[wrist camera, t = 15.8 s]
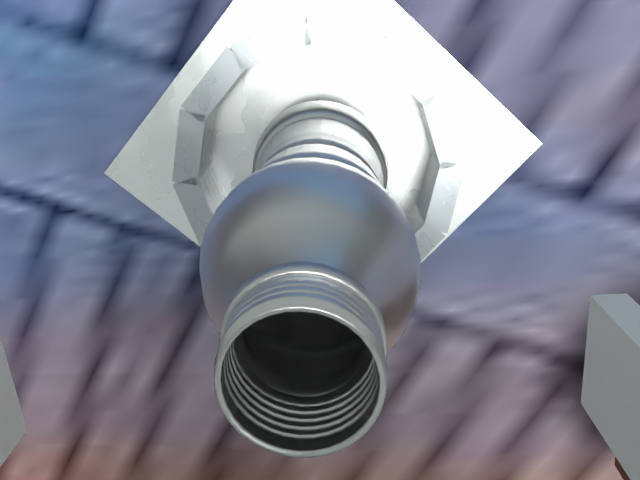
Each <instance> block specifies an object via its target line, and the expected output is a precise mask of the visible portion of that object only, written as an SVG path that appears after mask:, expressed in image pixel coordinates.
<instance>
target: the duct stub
mask: <svg viewBox="0 0 640 480" xmlns="http://www.w3.org/2000/svg"><path fill="white" fill-rule="evenodd" d="M316 100H325V101H331V102H337V103H340V104H343V105H345V106H348V107H350V108H352V109H353V110H355V111H357V112H358V113H360V114H361V115H363V116H364V117H365V118H366V119H367V120H368V121H369V122H370V123H371V124H372V125H373V127H374V128H375V130H376V131H377V133H378V134H379V136H380V137H381V140H382V142H383V144H384V147H385V149H386V154H387V159H388V173H389V176H388V182H387V188H386V190H387V191H388V192H389V193H390V194H391V195H392V197H393V198H394V200H395V201H396V202H397V204H398V205H399V207H400V208H401V209H402V211H403V213H404V214H405V216H406V218H407V219H408V221H409V224H410V226H411V228H412V231H413V233H414V235H415V237H416V240H417V244H418V249H419V254H420V259H421V263H422V262H423V261H424V260H425V259H426V258H427V257H428V256H429V255H430V254H431V253H432V252H433V251H434V250H435V249H436V248H437V247H438V246H439V245H440V244H441V243H442V242H443V241H444V240H445V239H446V238H447V237H448V236H449V235H450V234H451V233H452V232H453V231H454V230H455V229H456V228H457V227H458V226H459V225H460V224H461V223H462V222H463V221H464V220H465V219H466V218H467V217H469V216H470V215H471V214H472V213H473V212H474V211H475V210H476V209H477V208H478V207H479V206H480V205H481V204H482V203H483V202H484V201H485V200H486V199H487V198H488V197H489V196H490V195H491V194H492V193H493V192H494V191H495V190H496V189H497V188H498V187H499V186H500V185H501V184H502V183H503V182H504V181H505V180H506V179H507V178H508V177H509V176H510V175H511V174H512V173H513V172H514V171H515V170H516V169H517V168H518V167H519V166H520V165H521V164H522V163H523V162H524V161H525V160H526V159H527V158H528V157H529V156H530V155H531V154H532V153H534V152H535V151H536V150H537V149H538V148H539V147H540V146H541V145H542V143H541V142H540V141H539V140H538V139H537V138H536V137H535V136H534V135H533V134H532V133H531V132H530V131H529V130H528V129H527V128H526V127H525V126H524V125H523V124H521V123H520V122H519V121H518V120H517V119H516V118H515V117H514V116H513V115H512V114H511V113H510V112H509V111H508V110H507V109H506V108H505V107H504V106H503V105H502V104H501V103H500V102H499V101H498V100H497V99H496V98H494V97H493V96H492V95H491V94H490V93H489V92H488V91H487V90H486V89H485V88H484V87H483V86H482V85H481V84H480V83H479V82H478V81H477V80H476V79H475V78H474V77H473V76H472V75H471V74H470V73H469V72H467V71H466V70H465V69H464V68H463V67H462V66H461V65H460V64H459V63H458V62H457V61H456V60H455V59H454V58H453V57H452V56H451V55H450V54H449V53H448V52H447V51H446V50H445V49H444V48H443V47H441V46H440V45H439V44H438V43H437V42H436V41H435V40H434V39H433V38H432V37H431V36H430V35H429V34H428V33H427V32H426V31H425V30H424V29H423V28H422V27H421V26H420V25H419V24H418V23H417V22H416V21H414V20H413V19H412V18H411V17H410V16H409V15H408V14H407V13H406V12H405V11H404V10H403V9H402V8H401V7H400V6H399V5H398V4H397V3H396V2H395V1H394V0H234V1H233V2H232V3H231V5H230V6H229V7H228V9H227V10H226V11H225V13H224V14H223V15H222V17H221V18H220V19H219V21H218V22H217V23H216V25H215V26H214V27H213V29H212V30H211V31H210V33H209V34H208V35H207V37H206V38H205V39H204V41H203V42H202V43H201V45H200V46H199V47H198V49H197V50H196V51H195V53H194V54H193V55H192V57H191V58H190V59H189V61H188V62H187V63H186V65H185V66H184V67H183V69H182V70H181V71H180V73H179V74H178V75H177V77H176V78H175V79H174V81H173V82H172V83H171V85H170V86H169V87H168V89H167V90H166V91H165V93H164V94H163V95H162V97H161V98H160V99H159V101H158V102H157V103H156V105H155V106H154V107H153V109H152V110H151V111H150V113H149V114H148V115H147V117H146V118H145V119H144V121H143V122H142V123H141V125H140V126H139V127H138V129H137V130H136V131H135V133H134V134H133V135H132V137H131V138H130V139H129V141H128V142H127V143H126V145H125V146H124V147H123V149H122V150H121V151H120V153H119V154H118V155H117V157H116V158H115V159H114V161H113V162H112V163H111V165H110V166H109V167H108V169H107V170H106V171H105V174H106V175H107V176H109V177H110V178H111V179H113V180H114V181H115V182H116V183H118V184H119V185H120V186H122V187H123V188H124V189H126V190H127V191H128V192H130V193H131V194H132V195H133V196H135V197H136V198H137V199H139V200H140V201H141V202H143V203H144V204H145V205H146V206H148V207H149V208H150V209H152V210H153V211H154V212H156V213H157V214H158V215H159V216H161V217H162V218H163V219H165V220H166V221H167V222H169V223H170V224H171V225H173V226H174V227H175V228H176V229H178V230H179V231H180V232H182V233H183V234H184V235H186V236H187V237H188V238H189V239H191V240H192V241H193V242H195V243H196V244H197V245H199V246H200V247H201V245H202V241H203V238H204V234H205V231H206V227H207V225H208V224H209V222H210V220H211V218H212V216H213V214H214V212H215V210H216V209H217V207H218V206H219V205H220V204H221V203H222V201H223V200H224V199H225V198H226V197H227V196H228V194H229V193H230V192H231V191H232V190H233V189H234V188H235V187H236V186H237V185H238V184H239V183H240V182H242V181H243V180H244V179H246V178H247V177H248V176H249V175H251V174H252V170H253V158H254V152H255V149H256V146H257V142H258V140H259V138H260V136H261V135H262V133H263V131H264V129H265V128H266V127H267V126H268V124H269V123H270V122H271V121H272V120H273V119H274V118H275V117H276V116H277V115H279V114H280V113H281V112H282V111H284V110H286V109H288V108H290V107H292V106H294V105H296V104H299V103H303V102H307V101H316Z"/></svg>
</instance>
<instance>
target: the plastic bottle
mask: <svg viewBox="0 0 640 480" xmlns="http://www.w3.org/2000/svg"><path fill="white" fill-rule="evenodd" d="M388 176H389V173H388V159H387V154H386V149H385V147H384V144H383V142H382V140H381V137H380V136H379V134H378V133H377V131H376V130H375V128H374V127H373V125H372V124H371V123H370V122H369V121H368V120H367V119H366V118H365V117H364V116H363V115H361V114H360V113H358V112H357V111H355V110H353V109H352V108H350V107H348V106H345V105H343V104H340V103H337V102H331V101H325V100H316V101H307V102H303V103H299V104H296V105H294V106H292V107H290V108H288V109H286V110H284V111H282V112H281V113H280V114H279V115H277V116H276V117H275V118H274V119H273V120H272V121H271V122H270V123H269V124H268V126H267V127H266V128H265V129H264V131H263V133H262V135H261V136H260V138H259V140H258V142H257V146H256V149H255V152H254V158H253V170H252V174H251V175H249V176H248V177H247V178H246V179H244V180H243V181H242V182H240V183H239V184H238V185H237V186H236V187H235V188H234V189H233V190H232V191H231V192H230V193H229V194H228V196H227V197H226V198H225V199H224V200H223V201H222V203H221V204H220V205H219V206H218V207H217V209H216V210H215V212H214V214H213V216H212V218H211V220H210V222H209V224H208V225H207V227H206V231H205V234H204V238H203V241H202V245H201V250H200V265H199V270H200V277H201V285H202V291H203V298H204V303H205V306H206V309H207V311H208V314H209V317H210V320H211V322H212V323H213V325H214V327H215V329H216V330H217V332H218V334H219V335H220V341H219V349H218V352H217V355H216V358H215V367H214V385H215V392H216V397H217V400H218V402H219V405H220V408H221V410H222V412H223V413H224V415H225V416H226V418H227V420H228V421H229V423H230V424H231V425H232V426H233V427H234V428H235V429H236V430H237V431H238V432H239V434H241V435H242V436H243V437H245V438H246V439H247V440H249V441H250V442H251V443H253V444H255V445H257V446H259V447H261V448H263V449H265V450H267V451H270V452H273V453H276V454H279V455H283V456H290V457H297V458H304V457H318V456H323V455H328V454H332V453H334V452H337V451H340V450H342V449H345V448H346V447H348V446H350V445H351V444H353V443H355V442H356V441H358V440H359V439H360V438H361V437H362V436H363V435H364V434H365V433H367V432H368V431H369V429H370V428H371V427H372V425H373V424H374V423H375V421H376V420H377V418H378V416H379V414H380V412H381V410H382V407H383V405H384V400H385V395H386V389H387V366H386V359H387V353H388V352H389V351H390V350H391V349H392V348H393V347H394V345H395V344H396V342H397V341H398V340H399V338H400V337H401V335H402V334H403V333H404V331H405V329H406V326H407V324H408V322H409V320H410V317H411V315H412V313H413V310H414V307H415V304H416V302H417V297H418V292H419V288H420V283H421V259H420V254H419V249H418V244H417V240H416V237H415V235H414V233H413V231H412V228H411V226H410V224H409V221H408V219H407V218H406V216H405V214H404V213H403V211H402V209H401V208H400V207H399V205H398V204H397V202H396V201H395V200H394V198H393V197H392V195H391V194H390V193H389V192H388V191H387V190H386V188H387V182H388Z"/></svg>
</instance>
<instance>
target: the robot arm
mask: <svg viewBox="0 0 640 480" xmlns="http://www.w3.org/2000/svg"><path fill="white" fill-rule="evenodd" d="M581 404H582V406H583V407H584V409H585V410H586V412H587V414H588V415H589V417H590V418H591V420H592V421H593V423H594V424H595V426H596V427H597V429H598V431H599V432H600V434H601V435H602V437H603V438H604V440H605V441H606V443H607V444H608V446H609V447H610V449H611V451H612V452H613V454H614V455H615V457H616V458H617V460H618V461H619V463H620V464H621V466H622V467H623V469H624V471H625V472H626V474H627V475H628V477H629V478H630V480H640V305H639V304H638V303H637V302H635V301H634V300H633V299H632V298H631V297H630V296H629V295H628V294H627V293H622V294H605V295H590V305H589V316H588V327H587V339H586V350H585V361H584V372H583V383H582V394H581ZM26 432H27V427H26V424H25V420H24V417H23V414H22V410H21V407H20V403H19V400H18V396H17V393H16V389H15V386H14V383H13V379H12V376H11V372H10V369H9V365H8V362H7V358H6V355H5V352H4V348H3V345H2V341H1V338H0V467H1V465H2V464H3V463H4V461H5V460H6V459H7V457H8V456H9V455H10V453H11V452H12V451H13V449H14V448H15V447H16V445H17V444H18V443H19V441H20V440H21V439H22V437H23V436H24V434H25V433H26Z"/></svg>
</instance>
